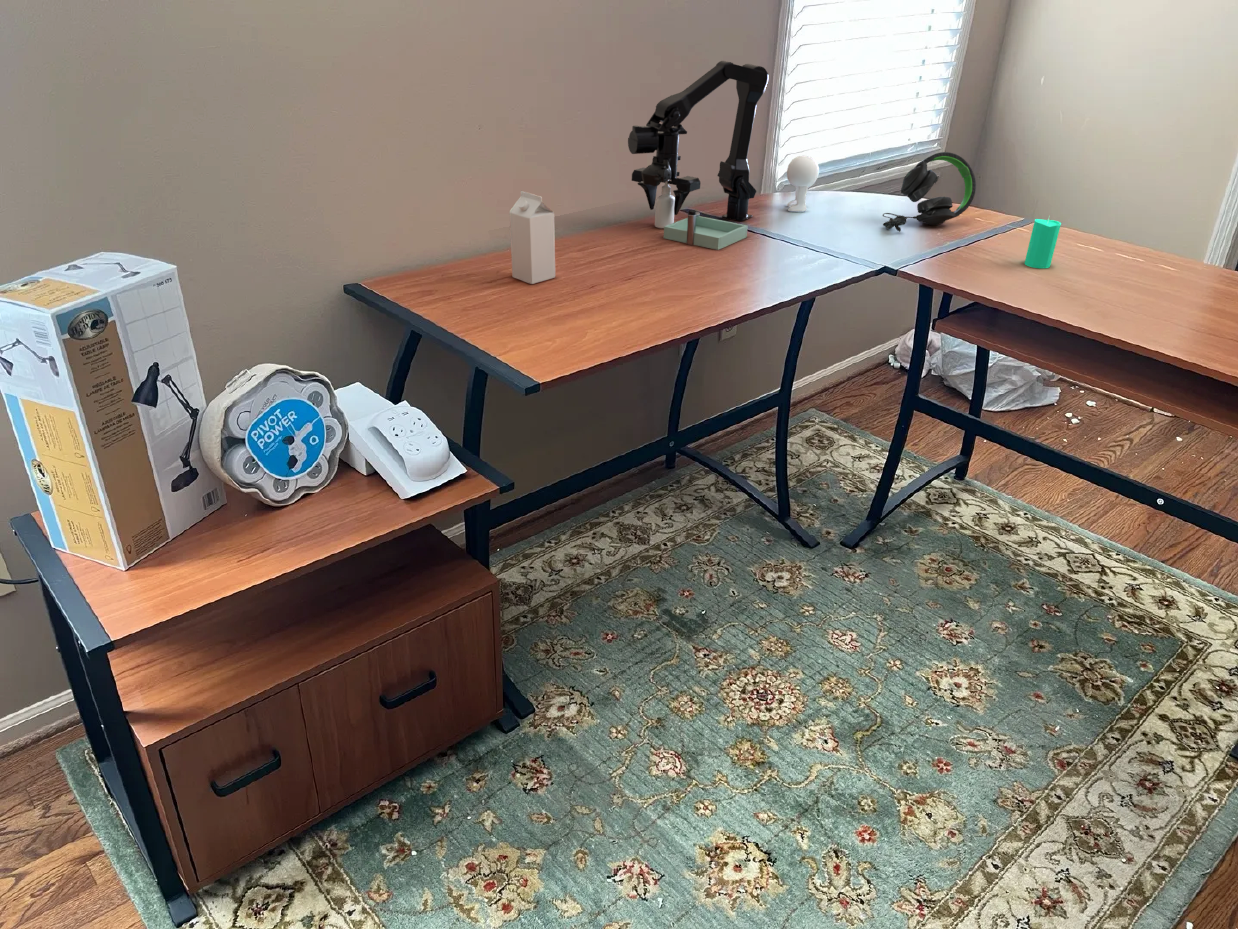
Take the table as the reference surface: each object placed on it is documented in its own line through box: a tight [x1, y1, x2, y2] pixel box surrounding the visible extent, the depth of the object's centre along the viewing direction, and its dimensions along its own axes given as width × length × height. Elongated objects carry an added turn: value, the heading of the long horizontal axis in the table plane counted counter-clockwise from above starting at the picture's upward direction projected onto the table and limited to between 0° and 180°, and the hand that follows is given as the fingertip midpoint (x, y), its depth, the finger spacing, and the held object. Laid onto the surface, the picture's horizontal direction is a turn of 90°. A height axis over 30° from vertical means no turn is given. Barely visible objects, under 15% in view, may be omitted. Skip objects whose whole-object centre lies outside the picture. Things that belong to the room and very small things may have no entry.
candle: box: [1023, 214, 1062, 270], centre depth 219 cm, size 6×6×12 cm
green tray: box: [663, 215, 749, 251], centre depth 238 cm, size 15×17×3 cm
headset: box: [881, 151, 977, 233], centre depth 247 cm, size 18×14×29 cm
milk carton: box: [508, 190, 556, 285], centre depth 204 cm, size 7×7×19 cm
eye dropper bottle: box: [654, 182, 675, 229], centre depth 244 cm, size 4×6×12 cm
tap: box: [685, 209, 701, 246], centre depth 232 cm, size 4×2×8 cm, turn 143°
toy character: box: [786, 155, 820, 213], centre depth 262 cm, size 9×9×15 cm
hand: (663, 212), depth 246 cm, fingers closed on eye dropper bottle, 7 cm apart
